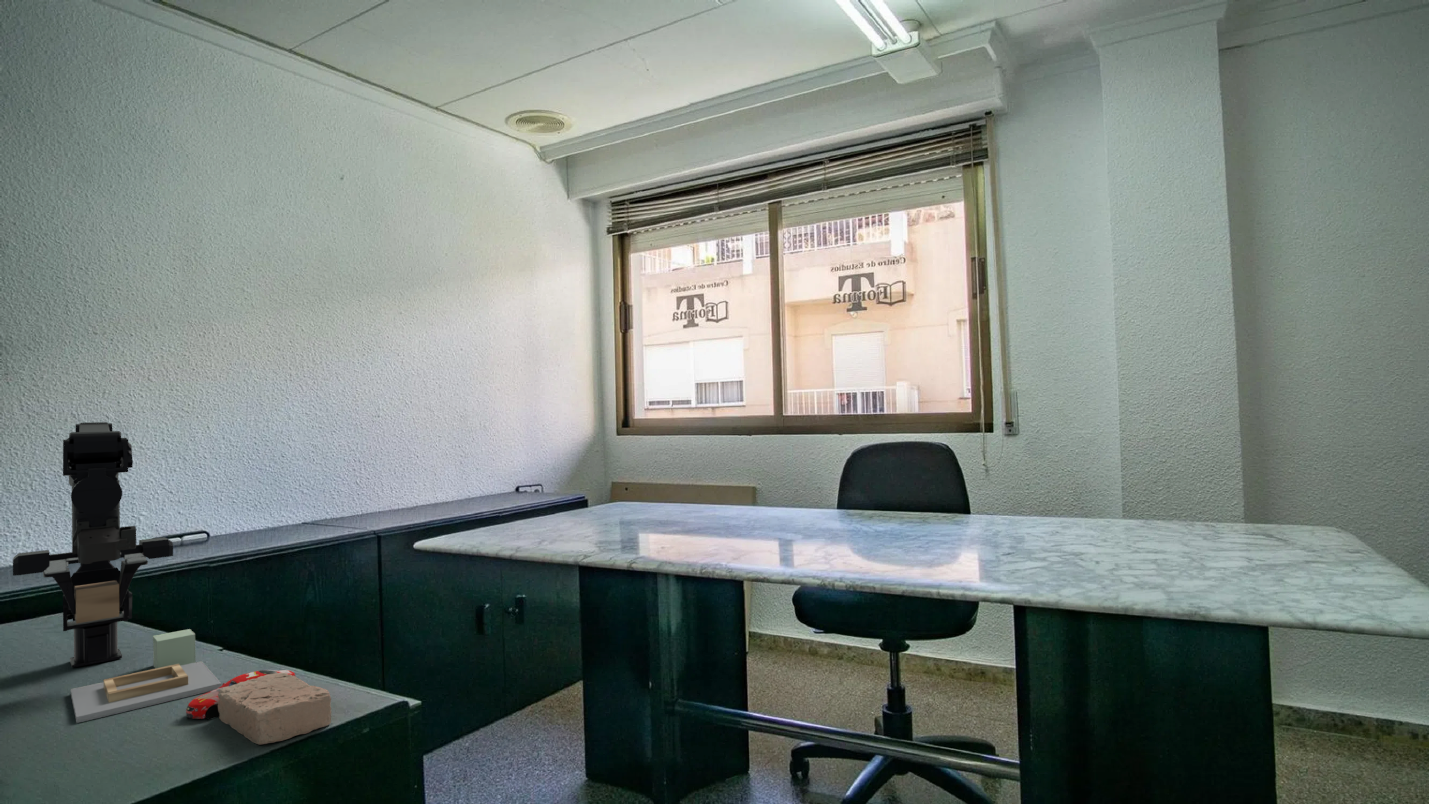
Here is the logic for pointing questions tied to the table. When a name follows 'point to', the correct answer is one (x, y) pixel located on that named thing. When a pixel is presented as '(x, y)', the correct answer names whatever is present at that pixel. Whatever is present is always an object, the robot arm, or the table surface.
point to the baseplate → (141, 690)
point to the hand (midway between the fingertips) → (97, 610)
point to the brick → (274, 707)
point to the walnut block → (97, 601)
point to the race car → (209, 701)
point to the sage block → (174, 648)
